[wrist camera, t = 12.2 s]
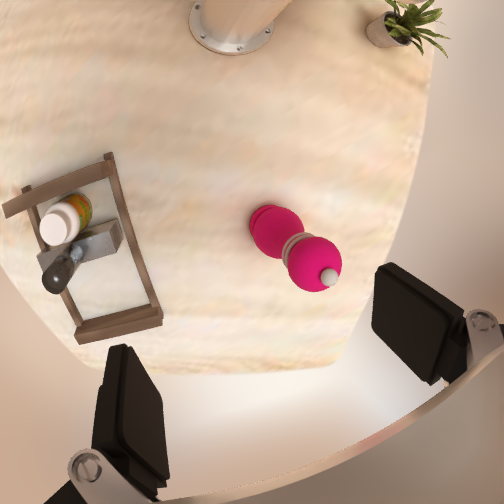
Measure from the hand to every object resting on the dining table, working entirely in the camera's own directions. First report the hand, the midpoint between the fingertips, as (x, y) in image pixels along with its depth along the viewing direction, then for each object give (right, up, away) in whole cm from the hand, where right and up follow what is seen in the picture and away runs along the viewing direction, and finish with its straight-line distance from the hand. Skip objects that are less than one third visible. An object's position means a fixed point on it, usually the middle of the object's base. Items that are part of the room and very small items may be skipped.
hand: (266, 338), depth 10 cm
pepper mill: (+2, +7, +35) cm, 36 cm away
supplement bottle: (-26, +9, +26) cm, 38 cm away
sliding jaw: (-25, +5, +28) cm, 38 cm away
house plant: (+22, +44, +26) cm, 56 cm away
